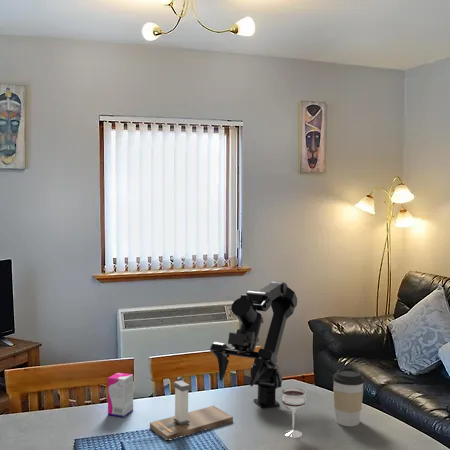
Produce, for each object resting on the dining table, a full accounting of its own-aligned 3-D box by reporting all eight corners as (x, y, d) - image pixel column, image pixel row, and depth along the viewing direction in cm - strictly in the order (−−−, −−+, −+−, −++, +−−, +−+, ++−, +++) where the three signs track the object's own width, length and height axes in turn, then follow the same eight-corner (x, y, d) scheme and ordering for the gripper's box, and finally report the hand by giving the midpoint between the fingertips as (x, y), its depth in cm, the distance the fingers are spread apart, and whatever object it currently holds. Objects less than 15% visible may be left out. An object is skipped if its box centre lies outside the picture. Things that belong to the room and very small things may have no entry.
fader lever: (182, 417, 156) (182, 380, 155) (190, 422, 152) (190, 384, 152) (173, 419, 154) (173, 382, 154) (180, 425, 151) (181, 386, 150)
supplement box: (133, 410, 165) (133, 373, 165) (124, 418, 160) (124, 380, 159) (117, 407, 167) (117, 371, 166) (107, 415, 162) (107, 377, 161)
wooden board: (213, 410, 166) (213, 405, 166) (232, 421, 158) (232, 416, 158) (149, 427, 153) (149, 422, 153) (167, 441, 145) (167, 435, 145)
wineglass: (308, 431, 152) (309, 389, 151) (301, 441, 146) (302, 397, 145) (285, 426, 155) (286, 385, 154) (277, 436, 149) (278, 393, 148)
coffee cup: (363, 429, 154) (365, 377, 153) (331, 426, 155) (332, 375, 155) (362, 416, 162) (363, 367, 162) (331, 413, 164) (332, 365, 163)
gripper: (210, 315, 154) (194, 367, 147) (272, 323, 146) (258, 378, 139) (223, 331, 163) (209, 381, 155) (282, 339, 155) (270, 392, 147)
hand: (235, 383), depth 149 cm, fingers open, 9 cm apart
